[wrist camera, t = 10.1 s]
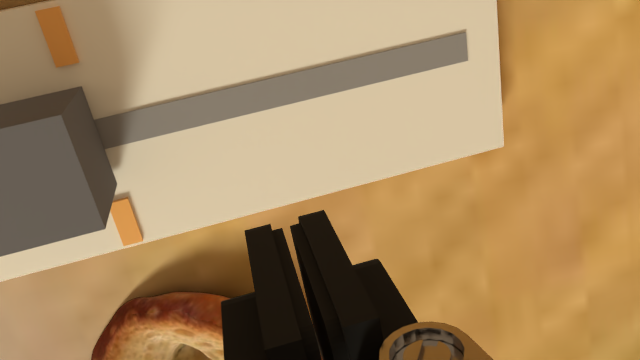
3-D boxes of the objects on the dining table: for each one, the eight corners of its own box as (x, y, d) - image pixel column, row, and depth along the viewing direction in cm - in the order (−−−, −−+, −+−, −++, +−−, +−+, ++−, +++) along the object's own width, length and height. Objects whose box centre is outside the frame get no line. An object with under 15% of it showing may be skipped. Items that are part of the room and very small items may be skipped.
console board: (473, -88, 23) (494, -90, 22) (487, 136, 27) (506, 147, 26) (-147, 40, 20) (-174, 47, 19) (-27, 273, 24) (-41, 294, 23)
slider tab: (81, 86, 21) (60, 114, 17) (117, 183, 22) (105, 229, 19) (-33, 112, 20) (-79, 147, 16) (12, 210, 22) (-21, 262, 18)
